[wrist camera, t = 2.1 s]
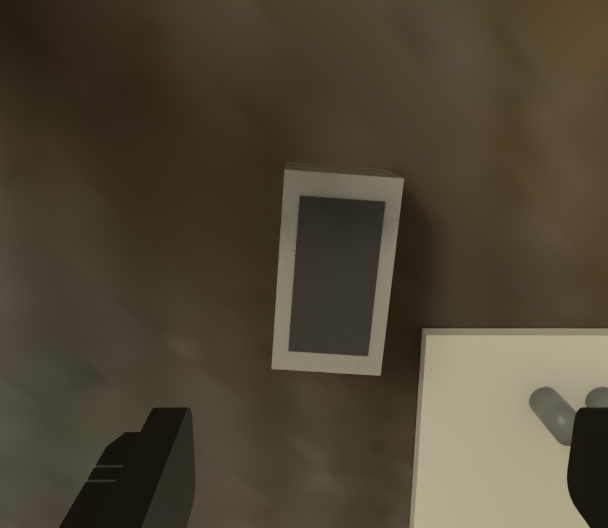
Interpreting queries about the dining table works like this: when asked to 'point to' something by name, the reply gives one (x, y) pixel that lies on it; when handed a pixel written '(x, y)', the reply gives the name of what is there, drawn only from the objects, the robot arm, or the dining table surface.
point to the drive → (335, 267)
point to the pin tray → (502, 424)
